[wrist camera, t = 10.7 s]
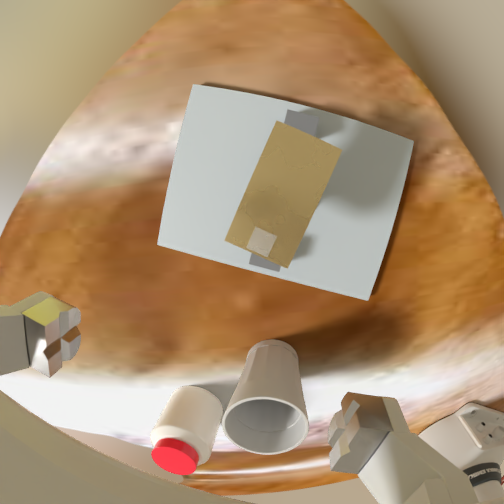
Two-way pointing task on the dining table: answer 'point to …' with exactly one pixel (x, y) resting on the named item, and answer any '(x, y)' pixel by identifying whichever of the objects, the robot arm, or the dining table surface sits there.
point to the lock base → (240, 172)
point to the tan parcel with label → (283, 194)
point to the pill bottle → (186, 430)
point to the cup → (268, 401)
